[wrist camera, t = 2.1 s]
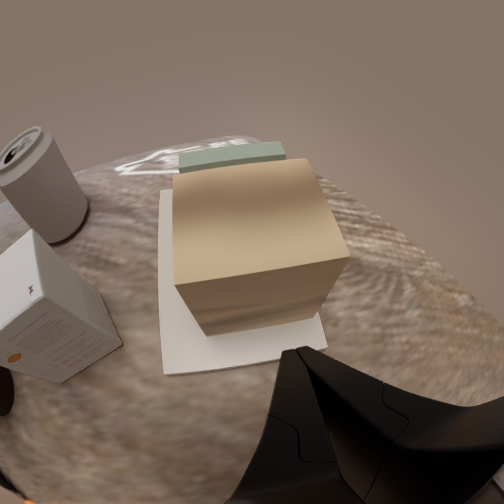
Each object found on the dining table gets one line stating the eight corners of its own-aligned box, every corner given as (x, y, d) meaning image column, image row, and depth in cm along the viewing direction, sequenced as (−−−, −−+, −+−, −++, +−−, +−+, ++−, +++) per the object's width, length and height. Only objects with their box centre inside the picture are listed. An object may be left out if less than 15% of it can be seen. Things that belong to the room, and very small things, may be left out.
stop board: (281, 194, 26) (285, 154, 22) (188, 207, 25) (178, 168, 21) (276, 180, 27) (279, 141, 23) (188, 192, 26) (179, 153, 22)
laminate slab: (324, 350, 19) (327, 347, 18) (167, 375, 18) (163, 374, 17) (273, 180, 29) (274, 173, 28) (162, 197, 28) (160, 190, 27)
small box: (101, 293, 22) (34, 223, 13) (125, 345, 19) (44, 293, 10) (43, 333, 19) (-34, 284, 10) (60, 385, 17) (-30, 355, 8)
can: (43, 214, 27) (-3, 146, 17) (88, 188, 29) (50, 111, 19) (42, 257, 24) (-20, 187, 13) (93, 229, 26) (40, 143, 15)
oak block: (313, 317, 20) (350, 256, 12) (206, 336, 19) (174, 284, 11) (290, 240, 23) (306, 158, 16) (197, 255, 23) (173, 175, 15)
